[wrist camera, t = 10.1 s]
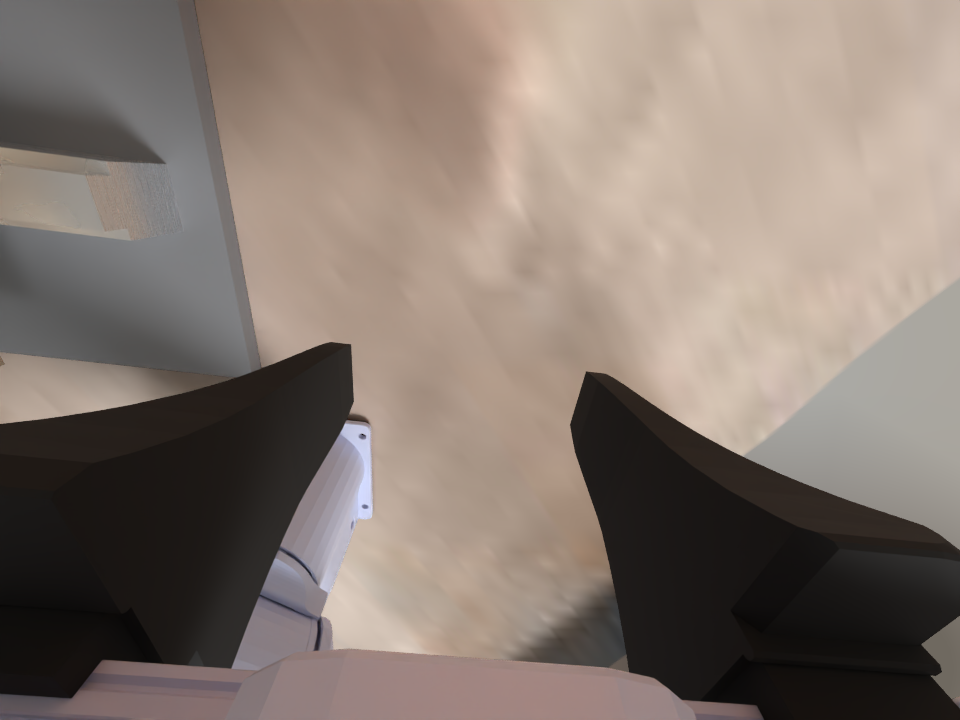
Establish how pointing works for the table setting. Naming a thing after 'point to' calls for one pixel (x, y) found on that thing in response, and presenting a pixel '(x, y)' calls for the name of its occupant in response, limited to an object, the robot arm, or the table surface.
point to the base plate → (131, 135)
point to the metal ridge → (85, 193)
